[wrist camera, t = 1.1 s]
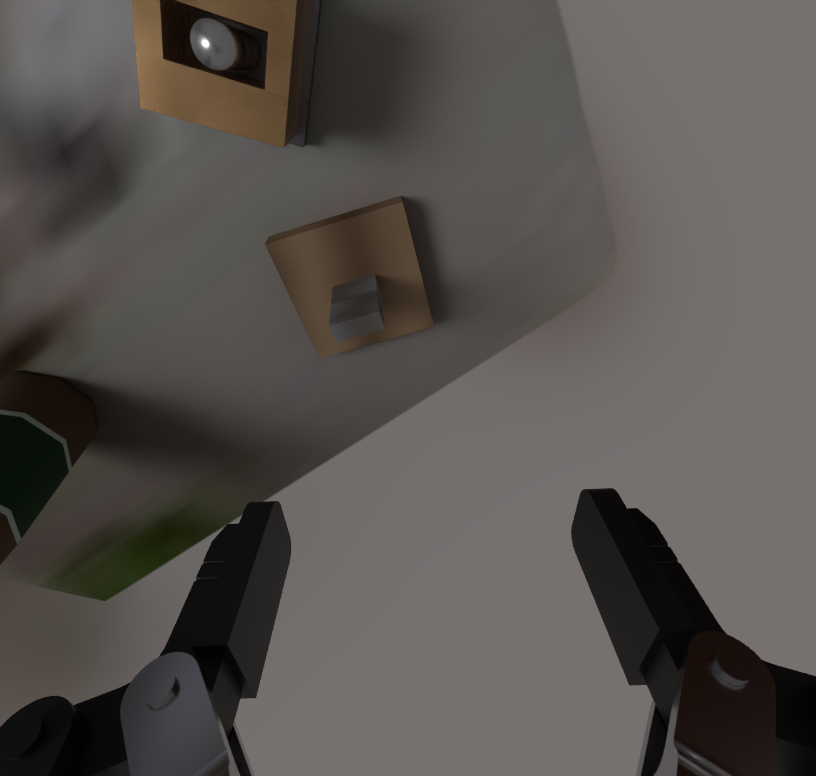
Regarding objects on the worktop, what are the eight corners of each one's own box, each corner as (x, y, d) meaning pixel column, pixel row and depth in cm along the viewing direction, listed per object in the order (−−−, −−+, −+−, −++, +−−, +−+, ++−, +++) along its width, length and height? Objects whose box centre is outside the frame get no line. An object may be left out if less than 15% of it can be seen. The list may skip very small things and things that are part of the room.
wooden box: (320, 348, 33) (314, 404, 27) (269, 236, 28) (247, 278, 22) (431, 316, 32) (447, 367, 27) (400, 196, 27) (412, 228, 21)
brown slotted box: (179, 101, 22) (140, 108, 18) (173, -56, 19) (124, -91, 15) (295, 134, 23) (284, 147, 19) (309, -6, 20) (298, -25, 16)
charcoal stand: (175, 108, 23) (123, 118, 18) (168, -71, 19) (98, -123, 14) (305, 144, 25) (292, 164, 19) (323, -13, 21) (312, -41, 16)
